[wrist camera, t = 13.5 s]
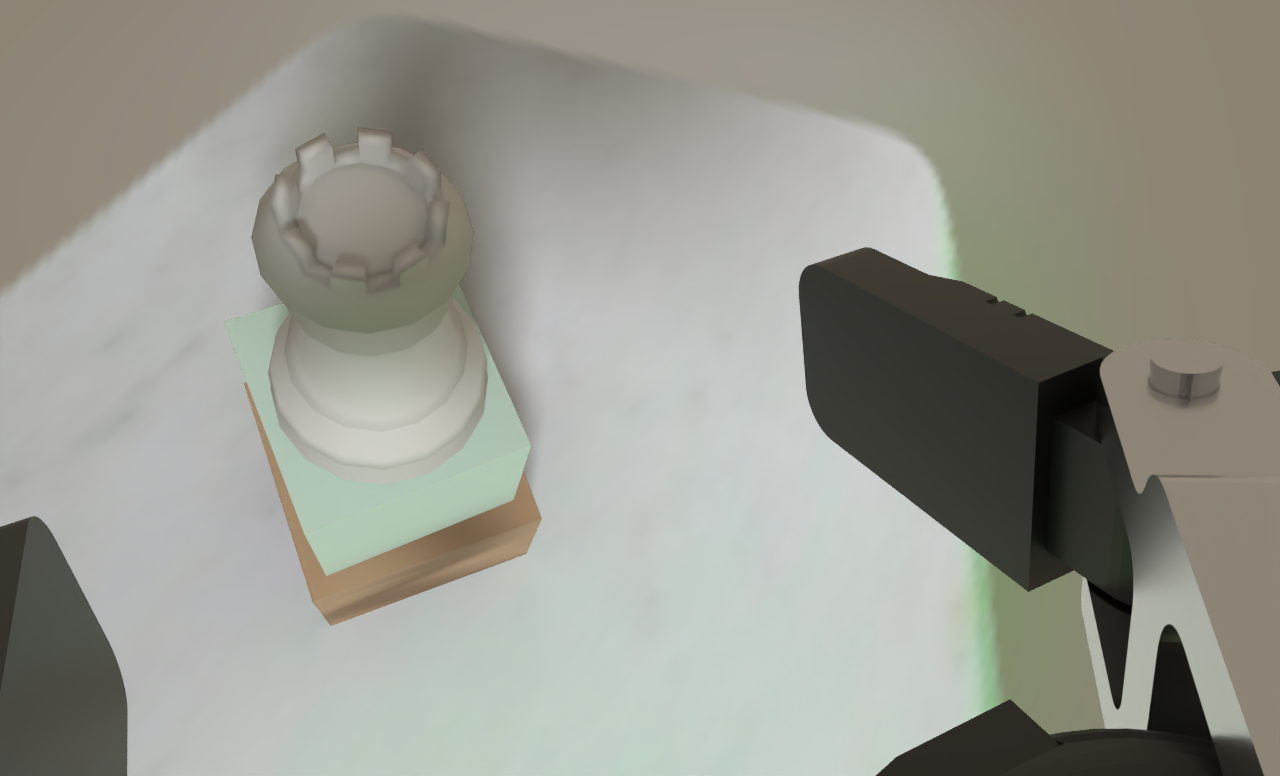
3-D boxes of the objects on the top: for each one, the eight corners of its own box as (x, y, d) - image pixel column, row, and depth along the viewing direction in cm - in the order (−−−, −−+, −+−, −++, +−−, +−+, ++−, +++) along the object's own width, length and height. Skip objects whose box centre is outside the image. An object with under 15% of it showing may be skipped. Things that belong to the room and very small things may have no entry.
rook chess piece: (320, 269, 23) (270, 32, 16) (513, 332, 23) (554, 130, 16) (239, 453, 21) (140, 285, 14) (449, 518, 22) (461, 388, 14)
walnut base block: (331, 626, 30) (312, 601, 25) (271, 438, 31) (244, 383, 27) (525, 554, 32) (541, 518, 27) (460, 379, 33) (465, 317, 29)
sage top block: (326, 576, 26) (304, 534, 21) (258, 398, 27) (223, 322, 22) (513, 500, 27) (531, 445, 22) (441, 335, 28) (444, 251, 24)
